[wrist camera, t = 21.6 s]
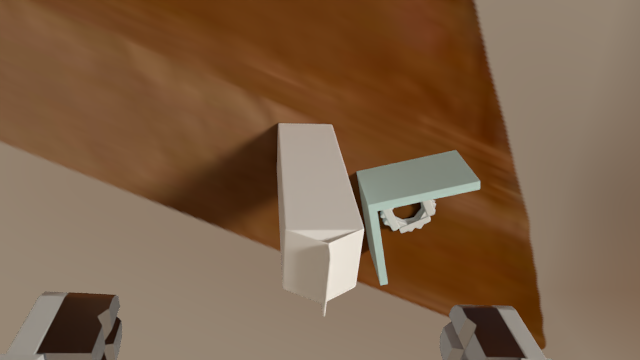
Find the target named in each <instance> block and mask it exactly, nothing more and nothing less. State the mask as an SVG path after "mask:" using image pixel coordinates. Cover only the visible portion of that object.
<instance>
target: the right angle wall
mask: <svg viewBox="0 0 640 360" xmlns="http://www.w3.org/2000/svg"><path fill="white" fill-rule="evenodd" d="M357 178H358V185H359V191H360V197H361V203H362V209H363V215H364V221H365V227H366V233H367V239H368V245H369V249H370V253H371V256H372V259H373V262H374V266H375V269H376V272H377V275H378V279H379V282H380V285H385V284H388V282H387V275H386V268H385V261H384V254H383V247H382V240H381V233H380V226H379V219H378V212H377V211H381V212H380V214H381V216H380V217H381V218H383V221H384V224H385V225H389V226H390V227H391V228H392V230H393V231H395V230H397V229H399V230H400V232H401V233H404V232H406V231H413V229H414V228H420V229H421V228H422V226H423V225H424V224H425V223H428V222H430V221H431V217H430V216H431V215H434V214H435V211H436V210H435V206H436V204H435V201H434V200H433V199H437V198H441V197H446V196H451V195H455V194H460V193H465V192H469V191H474V190H479V189H480V180H479V179H478V178H477V176H476V175H475V174H474V172H473V171H472V170H471V169H470V167H469V166H468V165H467V164H466V162H465V161H464V160H463V158H462V157H461V156H460V155H459V153H458V152H457V151H456V150H454V151H450V152H445V153H440V154H436V155H431V156H426V157H422V158H417V159H412V160H408V161H403V162H398V163H394V164H389V165H385V166H380V167H375V168H371V169H366V170H361V171H357ZM418 202H421V209H420V210H419V211H418V212H417V214H416V215H415V216H414V217H413V218H408V219H400V218H398V217H396V216H394V214H393V212H392V210H393V208H395V207H400V206H404V205H409V204H414V203H418Z"/></svg>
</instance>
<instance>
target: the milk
mask: <svg viewBox="0 0 640 360" xmlns="http://www.w3.org/2000/svg"><path fill="white" fill-rule="evenodd" d="M277 182H278V203H279V224H280V245H281V265H282V286H283V289H285V290H288V291H290V292H293V293H295V294H298V295H300V296H303V297H305V298H308V299H310V300H313V301H316V302H318V303H321V306H322V313H323V317H324V316H325V312H326V303H327V301H329V300H331V299H333V298H334V297H336V296H338V295H340V294H342V293H344V292H346V291H348V290H350V289H352V288H354V287H355V286H356V280H357V274H358V267H359V261H360V254H361V248H362V241H363V235H364V226H363V223H362V220H361V216H360V213H359V210H358V207H357V204H356V200H355V197H354V194H353V191H352V187H351V184H350V181H349V178H348V174H347V171H346V168H345V165H344V162H343V158H342V155H341V152H340V149H339V145H338V142H337V139H336V136H335V132H334V129H333V126H332V124H293V123H278V146H277Z"/></svg>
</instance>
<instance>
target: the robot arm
mask: <svg viewBox="0 0 640 360" xmlns="http://www.w3.org/2000/svg"><path fill="white" fill-rule="evenodd" d="M119 308H120V304H119V297H118V296H117V295H107V294H88V293H63V292H44V293H43V294H42V295H40V296H39V297H38V299H37V301H36V302H35V304H34V306H33V308H32V309H31V311H30V313H29V315H28V316H27V318H26V320H25V321H24V323H23V325H22V327H21V328H20V330H19V332H18V334H17V335H16V337H15V339H14V340H13V342H12V344H11V346H10V347H9V349H8V351H7V353H6V354H0V360H117V356H118V353H119V348H120V343H121V338H122V323H121V320H120V319H119V318H118V317H117V313H118V311H119ZM449 317H450V319H451V323H449V324H447V325H446V326H445V327H444V328H443V330H442V333H441V336H440V351H441V356H442V358H443V360H552V359H546V358H545V356H544V354H543V353H542V351H541V350H540V348H539V346H538V345H537V343H536V342H535V340H534V338H533V337H532V335H531V334H530V332H529V330H528V329H527V327H526V326H525V324H524V323H523V321H522V319H521V318H520V316H519V315H518V313H517V311H516V310H515V309H514V308H513V307H511V306H488V305H455V306H454V307H453V308H452V309H451V311H450V314H449Z"/></svg>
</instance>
